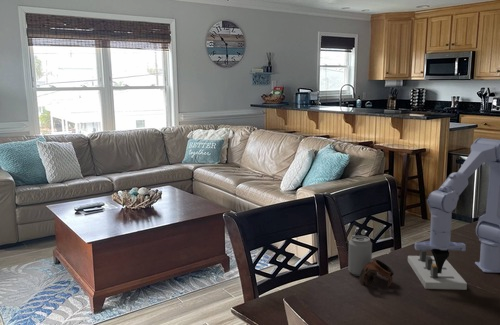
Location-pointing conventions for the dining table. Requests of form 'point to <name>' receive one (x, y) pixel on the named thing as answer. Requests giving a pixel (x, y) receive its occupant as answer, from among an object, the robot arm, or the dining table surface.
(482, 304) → the dining table surface
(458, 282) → the breaker panel
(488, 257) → the robot arm
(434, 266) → the handle
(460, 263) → the dining table surface
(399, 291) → the dining table surface
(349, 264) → the can
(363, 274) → the pottery mug
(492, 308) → the dining table surface
